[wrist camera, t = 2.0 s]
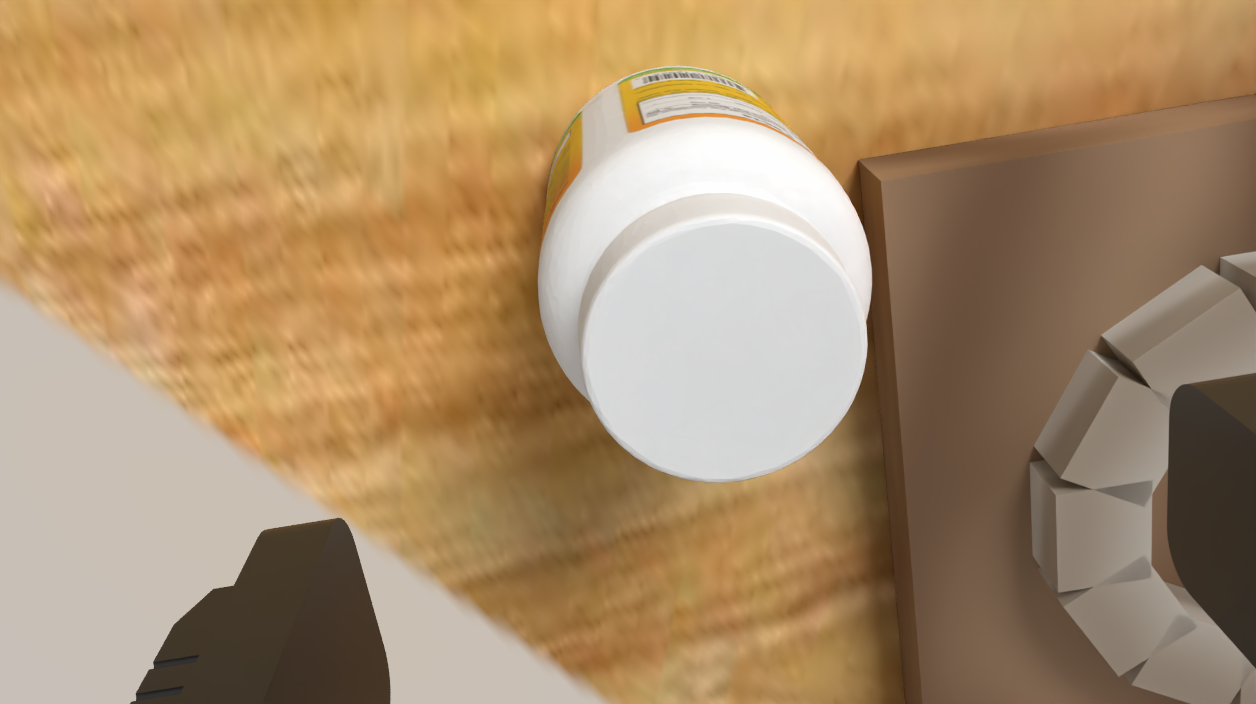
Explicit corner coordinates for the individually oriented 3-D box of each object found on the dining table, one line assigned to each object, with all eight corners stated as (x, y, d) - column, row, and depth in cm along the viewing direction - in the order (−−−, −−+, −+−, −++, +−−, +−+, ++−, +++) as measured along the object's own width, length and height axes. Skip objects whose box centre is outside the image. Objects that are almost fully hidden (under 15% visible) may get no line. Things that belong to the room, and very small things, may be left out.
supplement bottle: (644, 353, 26) (675, 594, 17) (496, 163, 24) (445, 319, 15) (845, 216, 25) (993, 395, 16) (706, 8, 23) (784, 77, 14)
